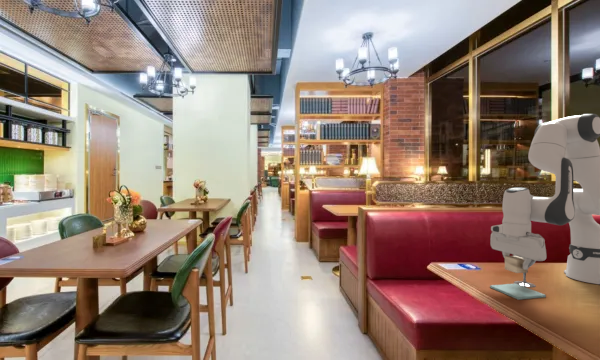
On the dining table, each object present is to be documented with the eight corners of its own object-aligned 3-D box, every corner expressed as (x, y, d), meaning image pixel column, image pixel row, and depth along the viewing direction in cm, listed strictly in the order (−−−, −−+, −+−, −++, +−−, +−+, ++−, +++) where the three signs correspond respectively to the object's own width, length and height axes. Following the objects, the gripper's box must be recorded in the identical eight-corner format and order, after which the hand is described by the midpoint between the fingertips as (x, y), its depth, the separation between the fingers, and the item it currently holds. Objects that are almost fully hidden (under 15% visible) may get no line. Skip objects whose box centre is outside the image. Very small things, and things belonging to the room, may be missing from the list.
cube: (515, 268, 113) (515, 255, 113) (527, 272, 108) (527, 259, 108) (504, 269, 112) (504, 256, 112) (516, 273, 107) (516, 259, 107)
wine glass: (529, 288, 113) (529, 250, 113) (508, 282, 120) (508, 246, 121) (541, 286, 116) (541, 248, 116) (519, 279, 124) (519, 244, 124)
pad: (515, 285, 117) (515, 283, 117) (545, 297, 105) (545, 294, 105) (490, 287, 115) (490, 285, 115) (518, 299, 103) (518, 297, 103)
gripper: (551, 235, 100) (551, 274, 100) (500, 226, 121) (500, 259, 120) (536, 235, 99) (536, 275, 99) (487, 226, 119) (487, 259, 119)
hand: (516, 266), depth 110 cm, fingers closed on cube, 5 cm apart
